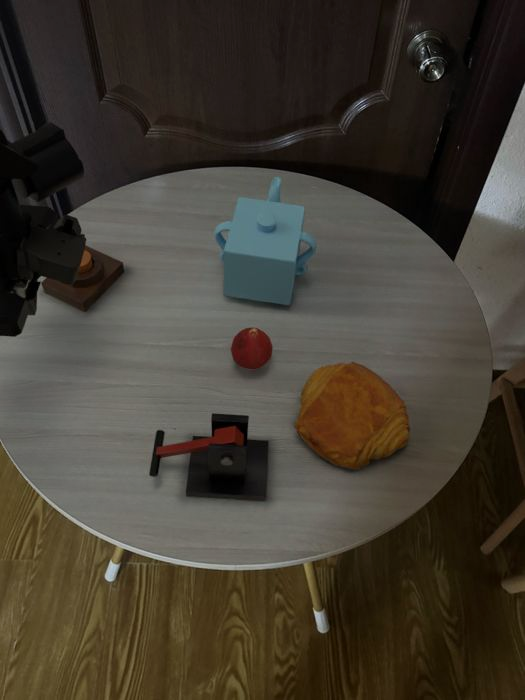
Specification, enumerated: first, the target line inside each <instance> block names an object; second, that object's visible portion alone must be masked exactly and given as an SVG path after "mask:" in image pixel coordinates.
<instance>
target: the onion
mask: <svg viewBox="0 0 525 700" xmlns="http://www.w3.org/2000/svg"><path fill="white" fill-rule="evenodd" d="M230 352H231V356H232V360H233V361H234V362H235V363H236V365H238V366H239V367H241V368H244V369H246V370H251V371H252V370H258V369H261V368H263V367H264V366H266V365H267V364H268V363H269V362H270V360H271V358H272V355H273V343H272V341H271V338H270V336H269V335H268V334H267V333H266V332H265V331H264V330H262V329H260V328H258V327H245V328H244V329H242V330H240V331H238V333H236V335H235V336H234V337H233V339H232V343H231V345H230Z"/></svg>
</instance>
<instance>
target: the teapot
mask: <svg viewBox="0 0 525 700" xmlns="http://www.w3.org/2000/svg"><path fill="white" fill-rule="evenodd" d="M270 183H271V184H270V188H269V192H268V195H267V199H266V200H263V199H258V198H257V199H255V198H249V197H241V196H238V199H237V202H236V206H235V210H234V213H233V216H232V220H231V221H230V220H229V221H228V220H227V221H223V222H221V223H219V224H218V225H217V226H216V228H215V229H214V232H213V233H214V234H213V237H214V239H215V242H216V244H217V245H218V246H219V247H220V248H221V251H220V254H219V257H220V260H221V262H222V263H223V271H222V273H223V278H222V279H223V296H224V297H225V296H226V297H231V298H238V299H245V300H250V301H251V300H252V301H257V302H258V301H259V302H266V303H271V304H277V305H278V304H279V305H284V306H291V301H292V296H293V291H294V285H295V279H296V276H303V275H304V274H305V273H306V272H307V271H308V264H307V263H306V261H308V260H309V259H311V257H313V255H314V254H315V252H316V250H317V242H316V239H315V238H314V237H313V236H312V235H311V234H310V233H308V232H305V231H303V228H304V221H305V214H306V206H304V205H298V204H290V203H283V202H281V187H282V179H281V177H280V176H274V177H273V178H272V180H271V182H270ZM226 231H227V232H228V234H227V237H226V239H225V237H224V236H223V234H222V232H226ZM302 242H303V243H305V244H307V245H308V246H309V248H308V249H306V250H305V251H304V252H303V253H302V254H300V251H301V243H302Z"/></svg>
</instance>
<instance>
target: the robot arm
mask: <svg viewBox="0 0 525 700" xmlns="http://www.w3.org/2000/svg"><path fill="white" fill-rule="evenodd" d="M65 133H66V132H65V130H64V129H63V128H62V127H60V126H59V125H58V124H57V123H54V122H53V121H49V122H48V123H45V124H43V125H42V126H40V127H39V128H37V130H35V131H33V132H30V133H29V134H27V135H25V136H23V137H20V138H19V139H16V140H15V141H13V142H11V141H10V140H8V138H7V137H6V135H5V133H4V132H3V130H2V129H0V337H11V338H15V337H18V336H19V335H21V334H22V333H23V330H24V328H25V326H26V322H27V320H28V317H29V316H36V314H37V311H38V309H37V308H38V292H39V289H40V286H41V282H42V281H39V279H40V278H41V277H44V278H45V279H46V278H50V279H53V280H57V281H60V282H61V283H63V284H68V285H69V284H73V283H74V282H75V281H76V278H77V274H78V271H79V268H80V265H81V261H82V257H83V254H84V250H85V246H87V245H86V244H87V237H86V234H85V233H82V226H81V224H80V222H79V219H78V218H77V217H75V216H72V215H69V214H64V215H62V216H61V217H59V214H58V212H57V211H55V210H54V209H53V208H51V207H50V206H47V205H46V206H45V205H34V204H33V205H32V204H21V203H20V201H19V198H18V196H17V194H18V195H19V196H20V197H22V198H24V199H26V198H27V199H28V198H30V199H31V200H33V201H35V202H36V203H40V202H42V201H44V200H46V199H47V198H49V197H51V196H53V195H54V194H56V193H59V192H60V191H62V190H64V189H65V188H67V187H69V186H71V185H72V184H74V183H76V182H78V181H79V180H81V179H83V178H84V175H85V167H84V164H83V161H82V160H81V159H80V158H79V156H78V153H77V152H76V150H75V148H74V147H73V145H72V144H71V142H70V141H69V140H68V139H67V137H66V134H65Z"/></svg>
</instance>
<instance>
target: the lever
mask: <svg viewBox="0 0 525 700" xmlns="http://www.w3.org/2000/svg"><path fill="white" fill-rule="evenodd" d="M165 435H166V432H165V430H163V429H157V430H156V431H155V436H154V437H155V438H154V442H153V449H152V455H151V461H150V466H149V472H148V474H149V476H150V477H153V478H157V477H158V476H159V471H160V465H161V459H163V458H164V459H165V458H169V457H175V456H181V455H186V454H191V453H193V452H198V451H204V450H208V445H209V443H213V444H229V445H243V440H244V434H243V433H242V432H241V431H240V430H239V429H238V428H237V427H236V426H231V427H225V428H220V429H215V432H214V437H212V436H209V437H210V438H204V439H199V440H193V441H192V440H187V441H184V442H177V443H172V444H167V445H164V441H165Z"/></svg>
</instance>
